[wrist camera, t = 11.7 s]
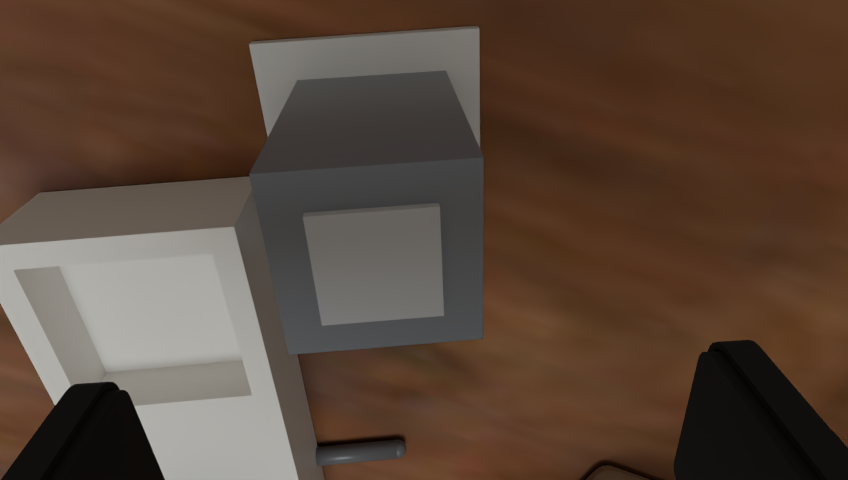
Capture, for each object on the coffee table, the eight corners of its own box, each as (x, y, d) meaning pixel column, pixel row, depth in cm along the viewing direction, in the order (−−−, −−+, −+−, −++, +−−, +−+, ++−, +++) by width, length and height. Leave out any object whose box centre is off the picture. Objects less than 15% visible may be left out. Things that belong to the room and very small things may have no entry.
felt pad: (477, 25, 19) (479, 28, 18) (478, 222, 23) (480, 228, 22) (251, 41, 19) (248, 44, 18) (291, 237, 22) (289, 244, 22)
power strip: (377, 166, 21) (376, 266, 15) (412, 502, 31) (420, 644, 25) (39, 192, 21) (-103, 306, 15) (184, 525, 31) (136, 674, 25)
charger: (445, 70, 19) (485, 161, 12) (449, 203, 21) (484, 344, 14) (297, 80, 19) (247, 178, 12) (318, 213, 21) (287, 360, 14)
